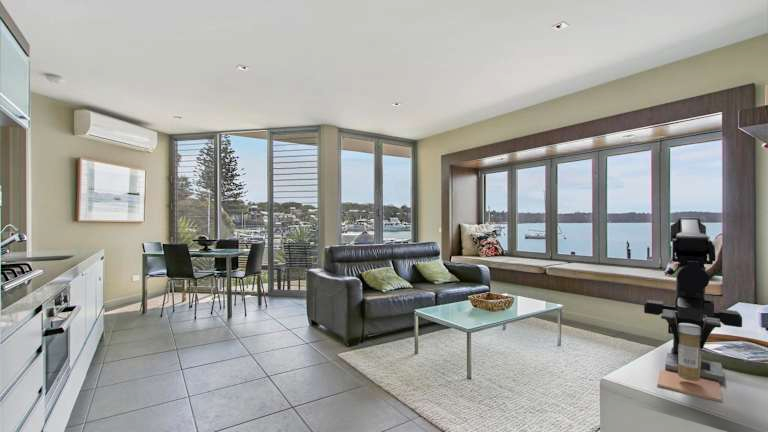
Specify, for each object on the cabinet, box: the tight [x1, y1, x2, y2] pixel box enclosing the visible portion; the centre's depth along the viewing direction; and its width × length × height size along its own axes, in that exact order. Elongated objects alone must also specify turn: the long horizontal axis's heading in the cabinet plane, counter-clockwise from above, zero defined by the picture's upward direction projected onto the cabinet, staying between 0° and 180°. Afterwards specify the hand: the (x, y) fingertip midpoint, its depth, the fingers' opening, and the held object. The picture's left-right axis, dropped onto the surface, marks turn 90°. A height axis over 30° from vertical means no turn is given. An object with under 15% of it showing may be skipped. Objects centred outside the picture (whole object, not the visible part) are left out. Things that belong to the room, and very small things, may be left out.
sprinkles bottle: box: [678, 323, 702, 381], centre depth 94 cm, size 5×5×14 cm
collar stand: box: [664, 352, 725, 385], centre depth 103 cm, size 12×12×2 cm
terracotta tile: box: [657, 369, 723, 403], centre depth 94 cm, size 12×12×1 cm
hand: (689, 346), depth 94 cm, fingers closed on sprinkles bottle, 4 cm apart
